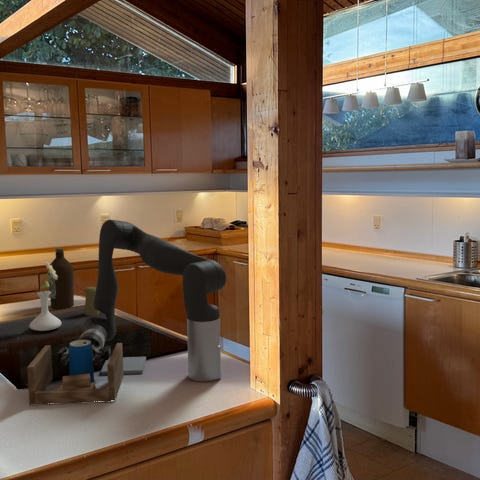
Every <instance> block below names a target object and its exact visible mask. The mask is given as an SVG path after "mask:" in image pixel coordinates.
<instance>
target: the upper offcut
mask: <svg viewBox="0 0 480 480" xmlns="http://www.w3.org/2000/svg"><path fill="white" fill-rule="evenodd" d="M62 384H63V390H71V389H79V388H88V387H91V381H90V374H81V375H72V376H70V375H64V376H62Z"/></svg>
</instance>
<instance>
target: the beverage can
mask: <svg viewBox="0 0 480 480" xmlns="http://www.w3.org/2000/svg"><path fill="white" fill-rule="evenodd" d="M67 349H68V353H69V355H68V358H69V362H68V366H69V368H68V369H69V376H72V375H81V374H90V381H91V383H95V373H94V370H95V369H94V360H93V347H92V344H91V341H89V340H78V339H76V340H73V341H71V342H69V346H68V348H67Z"/></svg>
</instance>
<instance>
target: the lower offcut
mask: <svg viewBox="0 0 480 480" xmlns="http://www.w3.org/2000/svg"><path fill="white" fill-rule="evenodd" d="M86 389H97V388H96V382H93V383H91V387H88V388H79V389H71V390H86ZM59 390H63V383H62V384H60V386H59V388H58V389H57V391H59Z"/></svg>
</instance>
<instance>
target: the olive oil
mask: <svg viewBox="0 0 480 480" xmlns="http://www.w3.org/2000/svg"><path fill="white" fill-rule="evenodd" d="M49 265H52V268H53V270H55V271H56V273H55V274H56V275H57V276H58V277H57V280H56V279H54V278H53V277H52V276H51V274H50V273H48V272H47V273H48V275H47V282H48V283H49V285H50V286H49V287H48V288H49V289H48V291H50V292H51V293H50V295H49V298H50V300H49V301H50V308H52V309H57V310H63V309H68V308H72V307H74V305H75V303H74V298H75V297H74V296H75V295H74V286H75V285H74V283H75V282H74V276H75V273H74V271H75V270H74V266H73V264H72V263H71V262H70V261H68V259H66V257H65V251H64V248H63V247H59V248H57V247H56V248H55V257H54V259H53V260H52V262H51V263H49Z"/></svg>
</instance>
